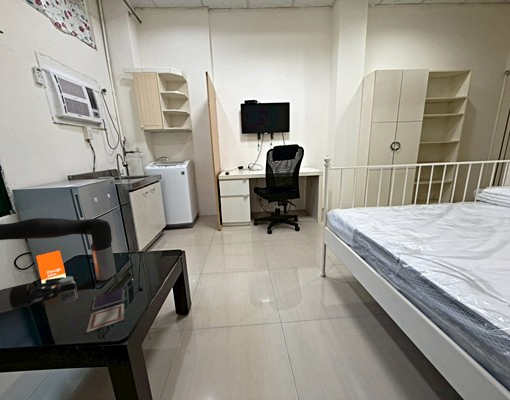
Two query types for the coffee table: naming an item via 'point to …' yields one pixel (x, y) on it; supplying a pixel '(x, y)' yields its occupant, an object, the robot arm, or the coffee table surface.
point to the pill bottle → (70, 294)
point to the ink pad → (108, 299)
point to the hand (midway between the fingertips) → (76, 282)
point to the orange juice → (50, 266)
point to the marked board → (105, 317)
